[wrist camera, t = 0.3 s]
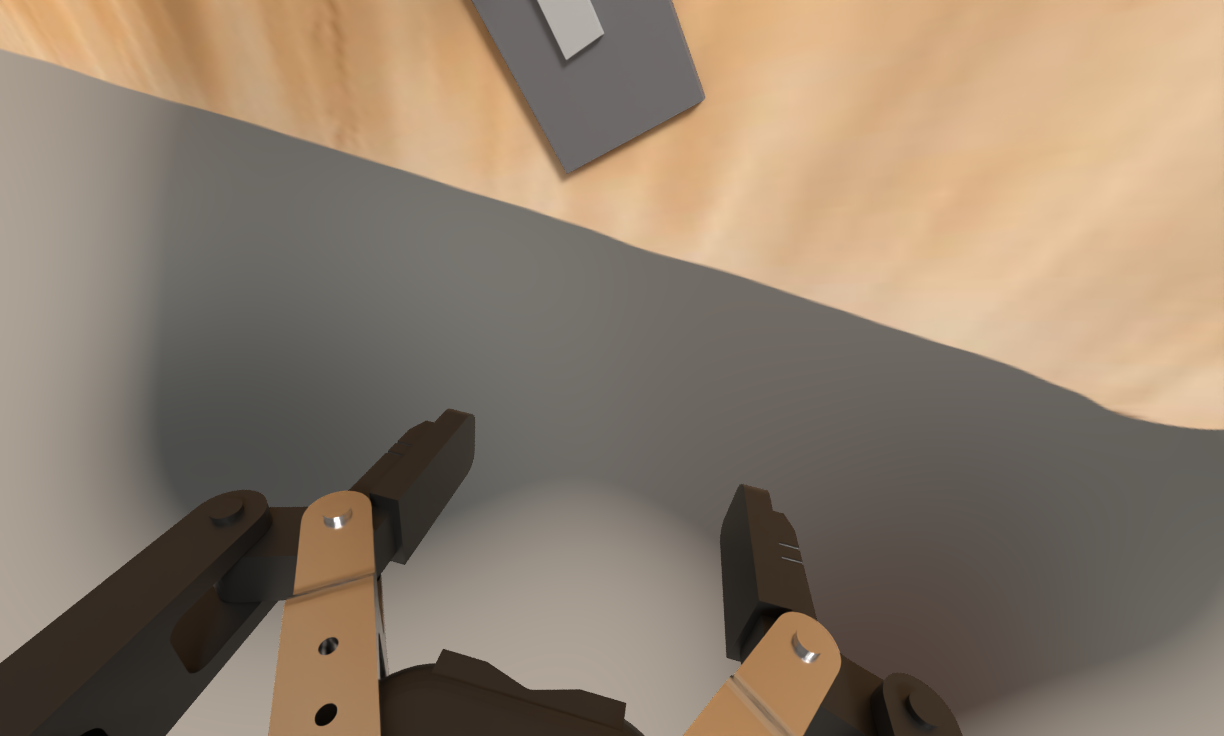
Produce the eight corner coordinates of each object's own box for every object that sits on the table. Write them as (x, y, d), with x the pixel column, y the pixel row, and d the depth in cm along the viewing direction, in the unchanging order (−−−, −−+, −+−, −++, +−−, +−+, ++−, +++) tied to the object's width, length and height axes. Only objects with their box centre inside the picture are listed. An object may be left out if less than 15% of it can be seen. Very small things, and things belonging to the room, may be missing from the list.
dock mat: (425, -100, 28) (410, -103, 26) (574, -280, 21) (563, -293, 20) (570, 169, 37) (564, 176, 35) (705, 97, 30) (702, 102, 29)
